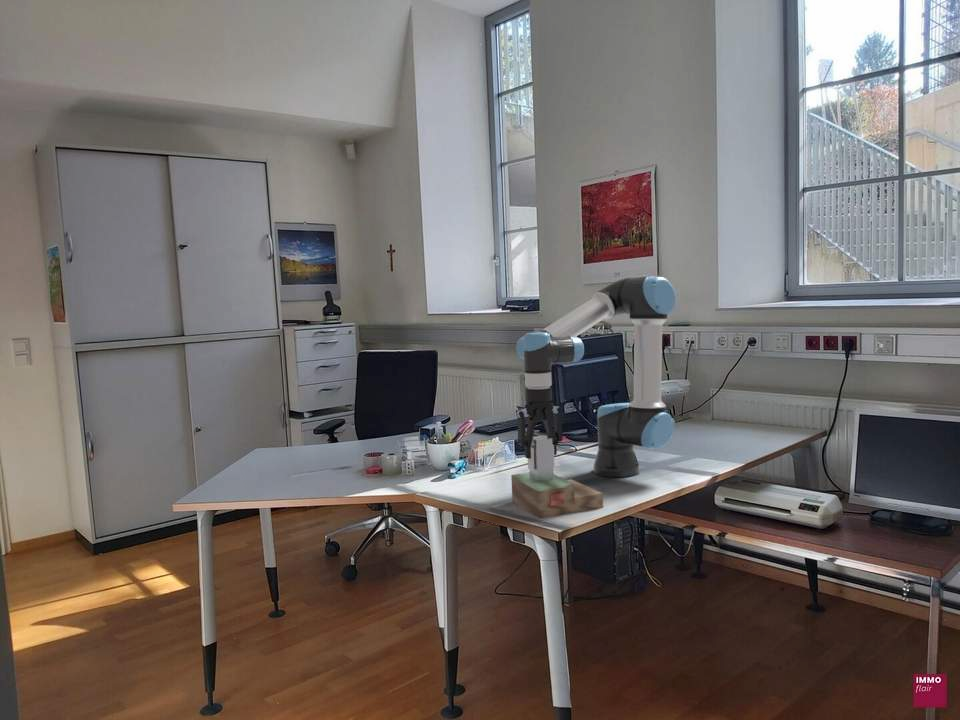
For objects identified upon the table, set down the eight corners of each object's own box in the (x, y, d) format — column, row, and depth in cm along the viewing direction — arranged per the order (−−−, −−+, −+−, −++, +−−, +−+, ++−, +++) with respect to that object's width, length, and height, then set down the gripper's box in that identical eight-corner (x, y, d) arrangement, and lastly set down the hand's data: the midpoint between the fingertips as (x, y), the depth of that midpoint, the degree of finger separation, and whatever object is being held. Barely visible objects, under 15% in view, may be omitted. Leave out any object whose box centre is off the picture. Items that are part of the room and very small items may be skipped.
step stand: (572, 492, 222) (571, 466, 221) (604, 507, 205) (603, 479, 204) (512, 501, 215) (511, 474, 214) (540, 518, 198) (539, 489, 197)
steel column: (545, 476, 211) (544, 435, 210) (553, 480, 206) (552, 438, 205) (530, 478, 209) (528, 437, 208) (537, 482, 204) (536, 440, 203)
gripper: (561, 383, 212) (564, 461, 214) (502, 388, 205) (506, 469, 208) (574, 385, 205) (576, 466, 207) (513, 391, 198) (517, 475, 201)
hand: (541, 467), depth 207 cm, fingers open, 6 cm apart
